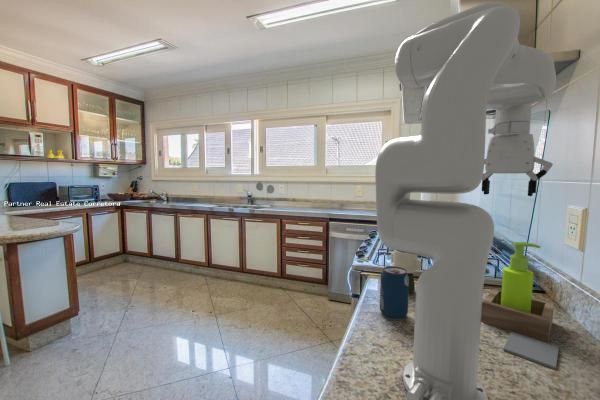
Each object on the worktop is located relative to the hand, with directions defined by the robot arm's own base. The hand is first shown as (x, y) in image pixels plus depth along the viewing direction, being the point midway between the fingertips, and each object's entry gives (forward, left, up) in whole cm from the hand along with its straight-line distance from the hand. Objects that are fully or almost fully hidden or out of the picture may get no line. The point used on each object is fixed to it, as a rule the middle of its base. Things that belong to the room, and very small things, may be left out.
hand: (507, 195), depth 75 cm
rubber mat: (-20, -9, -31) cm, 38 cm away
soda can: (-27, +18, -31) cm, 45 cm away
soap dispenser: (-8, -5, -31) cm, 33 cm away
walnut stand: (-8, -5, -31) cm, 32 cm away
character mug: (-10, +23, -31) cm, 40 cm away
